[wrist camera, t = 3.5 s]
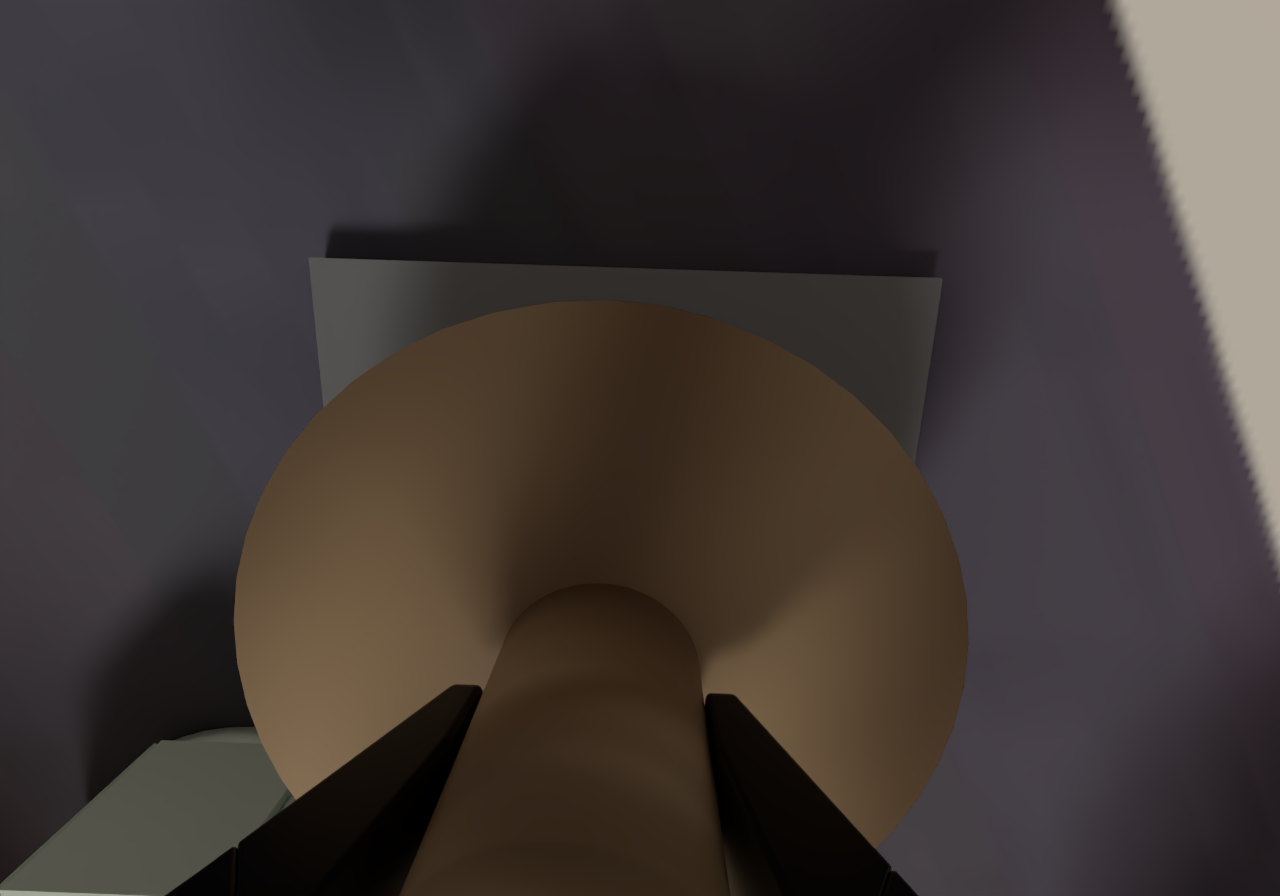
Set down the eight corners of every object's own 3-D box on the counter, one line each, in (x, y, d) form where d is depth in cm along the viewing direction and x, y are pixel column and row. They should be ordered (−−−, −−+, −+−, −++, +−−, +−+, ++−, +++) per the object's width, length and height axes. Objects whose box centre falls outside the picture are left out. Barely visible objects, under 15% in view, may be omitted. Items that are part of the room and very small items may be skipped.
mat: (929, 278, 13) (943, 277, 12) (856, 783, 16) (864, 801, 16) (323, 258, 13) (308, 257, 12) (371, 766, 16) (361, 783, 16)
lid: (991, 310, 9) (1469, 335, 4) (892, 908, 12) (1084, 1396, 7) (227, 289, 9) (-345, 285, 4) (309, 888, 12) (47, 1354, 7)
